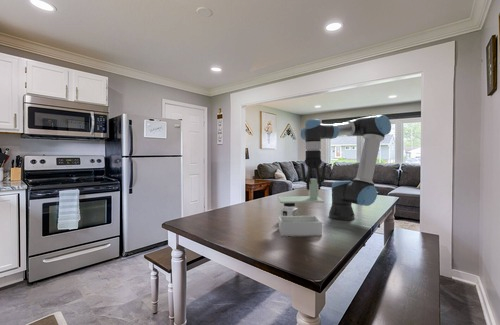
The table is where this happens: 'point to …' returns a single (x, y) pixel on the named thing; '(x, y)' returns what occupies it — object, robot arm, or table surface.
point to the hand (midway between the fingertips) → (313, 195)
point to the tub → (300, 226)
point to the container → (289, 210)
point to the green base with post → (304, 199)
